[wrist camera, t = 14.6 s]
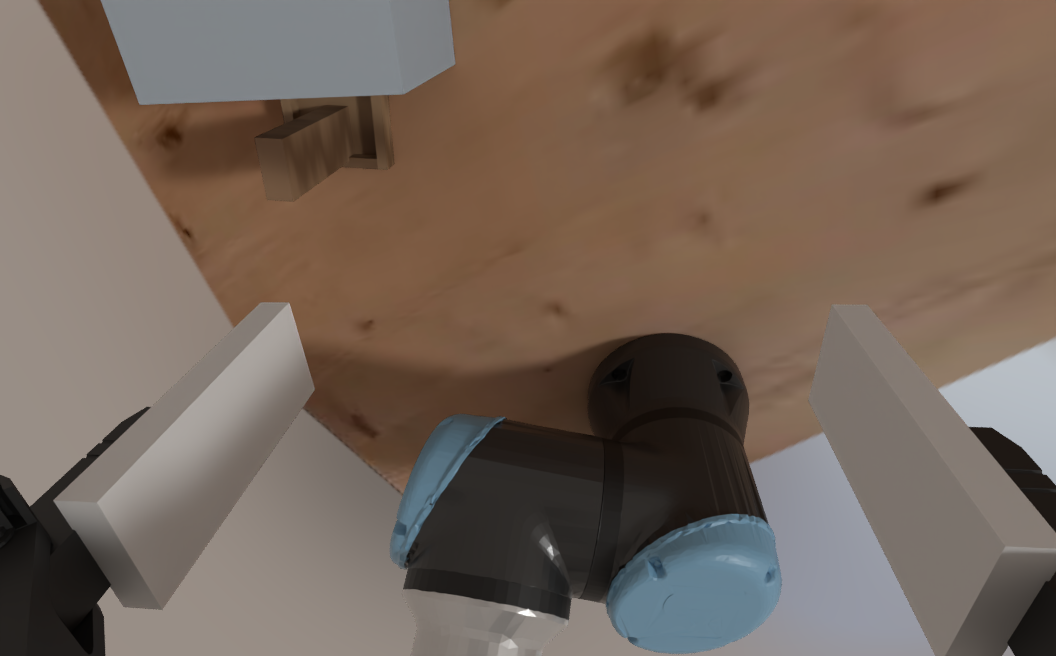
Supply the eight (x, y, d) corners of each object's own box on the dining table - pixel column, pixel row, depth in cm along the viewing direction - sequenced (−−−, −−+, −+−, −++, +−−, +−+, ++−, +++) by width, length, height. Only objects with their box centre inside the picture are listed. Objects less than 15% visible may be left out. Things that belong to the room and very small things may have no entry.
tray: (395, 163, 48) (340, 212, 38) (302, 157, 49) (223, 204, 39) (374, -70, 40) (298, -87, 30) (263, -73, 41) (151, -91, 30)
